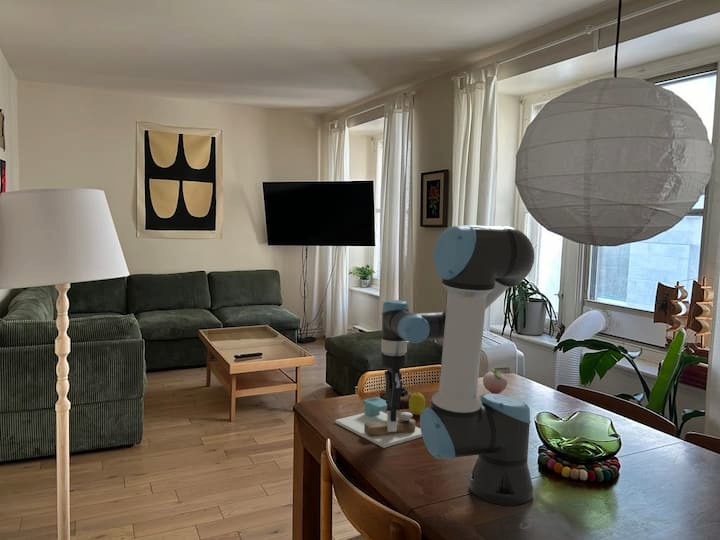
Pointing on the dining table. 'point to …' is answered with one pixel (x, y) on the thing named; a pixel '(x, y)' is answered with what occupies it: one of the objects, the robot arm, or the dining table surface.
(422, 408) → the lemon
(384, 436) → the plate
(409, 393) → the pastry
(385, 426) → the walnut link
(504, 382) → the decorative fruit
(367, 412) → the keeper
